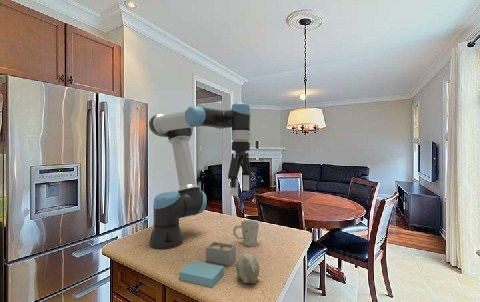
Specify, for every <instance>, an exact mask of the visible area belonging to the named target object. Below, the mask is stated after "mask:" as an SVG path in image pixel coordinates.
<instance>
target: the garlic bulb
mask: <svg viewBox="0 0 480 302" xmlns="http://www.w3.org/2000/svg"><path fill="white" fill-rule="evenodd" d="M235 261H236V262H235V271H236V274H237V275H238V277H239V278H240V281H242V282H243V283H245V284H255V283H256V282H258V281H259V278H258V277H259V275H260V264H259V262H258V260H257V258H256V257H255V255H253V254H249V253H241V254H240V255H239V256H238V258H237V260H235Z"/></svg>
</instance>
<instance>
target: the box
mask: <svg viewBox="0 0 480 302" xmlns="http://www.w3.org/2000/svg"><path fill="white" fill-rule="evenodd" d="M236 245H237V244H232V243H228V242H227V243H226V242H221V241H212V242H211V243H210V244H208V245H207V246H206V247H205V263H208V264H214V265H219V266H224V267H228V268H229V267H231V266H232V265H233V264H234V262H235V261H237V260H236V257H237V256H236V255H237V254H236V253H237V251H236V250H237V247H236Z"/></svg>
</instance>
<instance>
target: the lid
mask: <svg viewBox="0 0 480 302" xmlns="http://www.w3.org/2000/svg"><path fill="white" fill-rule="evenodd" d="M178 273H179V276H178V277H179V278H178V280H179V281H183V282H188V283H192V284H195V285H196V284H197V285H201V286H205V287H210V288H213V287H214V286H215V285H216V284H217V283H218V281H219V280H221V278H222V277H223V276H224V274H225V266H223V265H218V264H212V263H207V262H203V261H197V260H192V261H191V262H190V263H188V264H187V265H186V266H185V267H184V268H182V269H181V270H179V272H178Z"/></svg>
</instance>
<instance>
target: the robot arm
mask: <svg viewBox="0 0 480 302" xmlns="http://www.w3.org/2000/svg"><path fill="white" fill-rule="evenodd" d="M197 127H209V128H215V129H222V130H224V129H228V128H230V129H231V141H232V142H231V151H233V152H232V153H231V159H230V164H229V169H228V175H227V178H228V179H230V196H231V197H238V196H239V179H238V176H239V172H240V169H241V170H242V174H243V175H242V191H247V192H248V191H250V176H252V169H251V164H250V153H249V151H250V150H251V142H250V139H251V138H250V137H251V135H252V133H251V105H250V104H249V103H246V102H234V103H232V104H231V109H228V110H227V109H226V110H221V109H215V108H208V107H202V106H198V105H190V106H188V107H187V109H186V110H182V111H178V112H173V113H169V114H164V113H159V114H155V115H153V116H151V118H150V119H149V121H148V128H149V129H150V132H151V133H152V134H154V135H155V136H158V137H161V138H162V137H164V138H167V140H168V143H170V144H171V145H172V151H173V156H174V163H175V168H176V175H177V180H178V186H179V188H178V189H177V190H176V191H166V192H162V193H159V194H157V195H156V196H155V197H154V198H153V229H152V231H151V233H150V238H149V246H150V248H154V249H159V250H165V249H166V250H167V249H173V248H176V247H179V246H181V244H183V243H184V236H183V233H182V230H181V227H180V219H182V218H187V217H191V216H196V215H199V214H202V213H203V212H204V211H205V209H206V208H207V204H208V203H207V200H208V199H207V195H206V193H205V192H204V191H202V190H201V188H200V185H198V184H197V182H196V181H197V180H196V176H195V171H194V166H193V160H192V155H191V151H190V149H191V148H190V144H189V141H190V140H191V137H192V135H193V133H194V128H197ZM234 151H235V152H234Z"/></svg>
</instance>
